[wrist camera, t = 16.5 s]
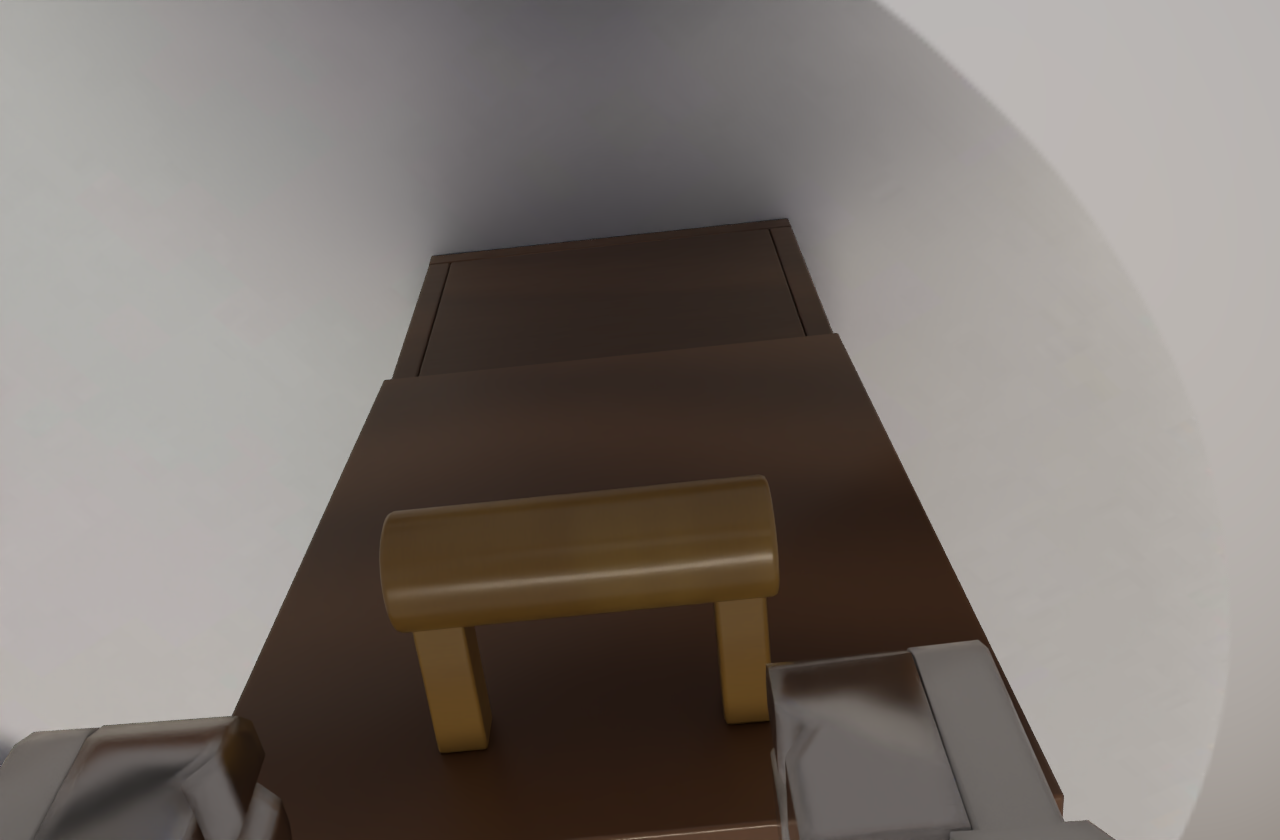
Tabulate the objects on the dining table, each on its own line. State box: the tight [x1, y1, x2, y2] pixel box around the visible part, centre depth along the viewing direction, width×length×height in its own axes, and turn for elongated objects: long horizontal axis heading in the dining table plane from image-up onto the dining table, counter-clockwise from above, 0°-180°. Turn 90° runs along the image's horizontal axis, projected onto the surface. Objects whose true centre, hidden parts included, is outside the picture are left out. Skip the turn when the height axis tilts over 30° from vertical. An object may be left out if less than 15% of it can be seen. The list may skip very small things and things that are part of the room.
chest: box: [392, 219, 833, 379], centre depth 37 cm, size 15×11×9 cm
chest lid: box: [232, 333, 1064, 840], centre depth 21 cm, size 16×11×4 cm
